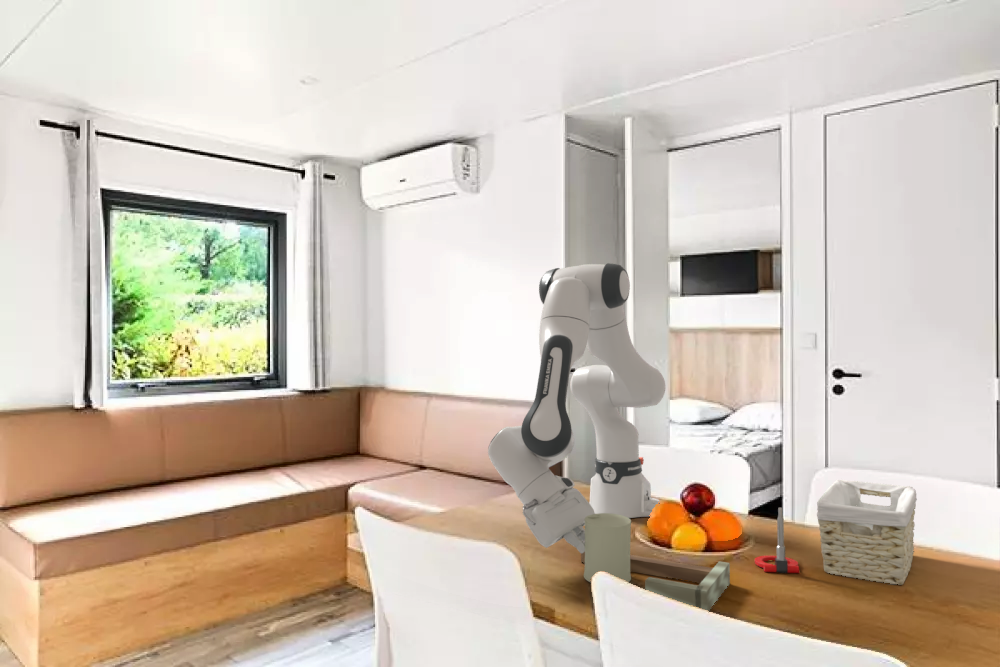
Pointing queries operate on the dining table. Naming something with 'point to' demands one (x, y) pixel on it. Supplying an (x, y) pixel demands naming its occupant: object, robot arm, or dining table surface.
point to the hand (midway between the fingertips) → (587, 549)
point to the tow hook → (778, 554)
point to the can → (607, 545)
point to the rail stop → (696, 595)
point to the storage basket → (867, 531)
